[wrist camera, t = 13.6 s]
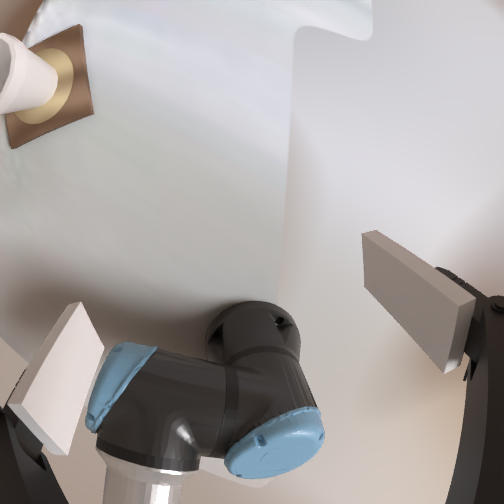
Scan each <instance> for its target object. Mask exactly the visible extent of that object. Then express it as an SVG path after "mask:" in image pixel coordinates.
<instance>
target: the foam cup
mask: <svg viewBox="0 0 504 504" xmlns="http://www.w3.org/2000/svg"><path fill="white" fill-rule="evenodd" d="M57 82H58V75H57V73H56V70H55V68H53V67H52V66H51V65H49V64H48V63H47V62H45V61H44V60H43V59H41V58H40V57H39V56H37V55H36V54H34V53H33V52H32V51H30V50H29V49H27V48H26V47H25V46H24V44H23V43H22V42H21V41H19V40H18V39H16V38H15V37H13V36H11V35H8V34H5V33H0V115H2V114H6V113H11V112H16V111H21V110H27V109H32V108H36V107H40V106H42V105H44V104H46V103H47V102H48V101H49V100H50V99H51V97H52V96H53V94H54V92H55V90H56V88H57Z"/></svg>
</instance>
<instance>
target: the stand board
mask: <svg viewBox="0 0 504 504" xmlns="http://www.w3.org/2000/svg"><path fill="white" fill-rule="evenodd" d="M29 50H30V51H32V52H33V53H34V54H36V55H37V56H39V57H40V58H41V59H43V60H44V61H45V62H47V63H48V64H49V65H51V66H52V67H53V68H55V70H56V73H57V75H58V82H57V88H56V90H55V92H54V94H53V96H52V97H51V99H50V100H49V101H48V102H47V103H46V104H44V105H42V106H40V107H36V108H32V109H27V110H21V111H16V112H11V113H6V120H7V127H8V133H9V139H10V145H11V149H15V148H17V147H19V146H21V145H23V144H25V143H27V142H29V141H31V140H33V139H36V138H38V137H40V136H42V135H44V134H46V133H49V132H51V131H53V130H55V129H58V128H60V127H62V126H65V125H67V124H69V123H72V122H74V121H77V120H79V119H82V118H85V117H87V116H90V115H93V114H94V111H93V105H92V99H91V93H90V87H89V81H88V74H87V66H86V58H85V49H84V40H83V29H82V26H81V25H80V24H78V25H76V26H73V27H71V28H69V29H67V30H65V31H62V32H60V33H58V34H56V35H54V36H52V37H50V38H48V39H46V40H44V41H42V42H40V43H38V44H37V45H35V46H33V47H31V48H29Z"/></svg>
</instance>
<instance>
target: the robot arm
mask: <svg viewBox="0 0 504 504" xmlns="http://www.w3.org/2000/svg"><path fill="white" fill-rule="evenodd" d="M362 247H363V263H364V286H365V288H366V289H367V290H368V291H369V292H370V293H371V294H372V295H373V296H374V297H375V298H376V299H377V301H378V302H379V303H380V304H381V305H382V306H383V307H384V308H385V309H386V310H387V311H388V312H389V313H390V314H391V315H392V316H393V317H394V319H395V320H396V321H397V322H398V323H399V324H400V325H401V326H402V327H403V328H404V330H406V332H407V333H408V334H409V335H410V336H411V337H412V338H413V339H414V341H415V342H416V343H417V344H418V345H419V346H420V347H421V348H422V349H423V351H424V352H425V353H426V354H427V355H428V356H429V357H430V358H431V360H432V361H433V362H434V363H435V364H436V365H437V366H438V368H439V369H440V370H441V371H442V372H443V374H445V373H447V372H449V371H450V370H452V369H454V368H456V367H458V366H460V364H461V361H462V357H463V354H464V352H465V353H466V354H467V355H468V356H469V357H470V360H469V363H468V367H467V370H466V373H465V376H464V379H463V381H466V379H467V389H466V400H465V409H464V417H463V425H462V432H461V438H460V444H459V449H458V454H457V460H456V464H455V469H454V474H453V477H452V481H451V485H450V489H449V493H448V496H447V500H446V503H445V504H504V296H492V297H489V298H488V297H486V296H485V295H483V294H482V293H481V292H479V291H478V290H477V289H475V288H474V287H472V286H471V285H469V284H468V283H465V281H464V280H462V279H461V278H458V276H456V275H455V274H453V273H452V272H450V271H449V270H446V269H443V268H440V267H436V268H434V267H432V266H431V265H429V264H428V263H426V262H425V261H423V260H422V259H420V258H419V257H417V256H416V255H414V254H413V253H411V252H410V251H408V250H407V249H405V248H404V247H402V246H400V245H399V244H397V243H396V242H394V241H393V240H391V239H390V238H388V237H386V236H385V235H383V234H381V233H380V232H378V231H377V230H374V231H370V232H366V233H363V234H362ZM300 344H301V341H300V334H299V331H298V328H297V326H296V324H295V322H294V320H293V318H292V317H291V316H290V315H289V313H287V312H286V311H285V310H283V309H282V308H280V307H278V306H276V305H273V304H270V303H266V302H246V303H242V304H238V305H235V306H233V307H230V308H228V309H227V310H225V311H223V312H222V313H221V314H219V315H218V316H217V317H216V318H215V319H214V320H213V322H212V323H211V325H210V326H209V328H208V330H207V333H206V338H205V350H206V356H207V359H208V361H206V360H202V359H197V358H193V357H189V356H185V355H181V354H177V353H173V352H169V351H165V350H162V349H159V347H157V346H153V347H151V346H146V345H142V344H137V343H133V342H121V343H119V344H117V345H116V346H115V347H114V348H113V349H112V350H111V351H110V353H109V355H108V356H107V358H106V360H105V362H104V364H103V366H102V368H101V370H100V372H99V375H98V377H97V380H96V382H95V385H94V388H93V390H92V394H91V397H90V400H89V404H88V411H87V415H86V419H85V424H86V427H87V428H88V429H89V430H90V431H91V432H92V433H97V434H98V437H97V442H96V450H97V451H98V453H99V454H100V456H101V457H102V458H103V460H104V461H105V463H106V465H107V469H106V476H105V484H104V494H103V504H180V499H181V491H182V484H183V482H184V481H185V480H186V479H188V478H190V477H191V476H193V475H194V474H196V473H197V472H198V470H199V463H200V458H201V456H205V457H214V458H221V459H224V464H225V466H226V467H227V469H228V471H229V472H230V473H231V474H233V475H236V476H237V477H240V478H245V479H261V478H268V477H273V476H277V475H280V474H283V473H286V472H289V471H291V470H293V469H295V468H297V467H299V466H301V465H302V464H304V463H305V462H307V461H308V460H310V459H311V458H312V457H313V456H314V455H315V454H316V453H317V452H318V451H319V449H320V448H321V446H322V444H323V442H324V438H325V432H324V428H323V425H322V421H321V418H320V417H321V413H320V411H319V410H318V407H317V405H316V403H315V400H314V398H313V395H312V393H311V391H310V388H309V386H308V384H307V381H306V379H305V376H304V374H303V371H302V369H301V367H300V364H299V357H300ZM103 351H104V346H103V344H102V342H101V340H100V339H99V337H98V335H97V333H96V331H95V329H94V327H93V325H92V323H91V321H90V319H89V317H88V315H87V313H86V311H85V309H84V306H83V304H82V302H81V301H80V302H76V303H71V304H68V306H67V307H66V308H65V310H64V311H63V313H62V314H61V316H60V317H59V319H58V320H57V322H56V323H55V325H54V326H53V328H52V329H51V331H50V332H49V334H48V335H47V337H46V338H45V340H44V341H43V343H42V344H41V346H40V348H39V349H38V351H37V352H36V354H35V356H34V357H33V359H32V361H31V362H30V364H29V366H28V367H27V368H26V369H25V370H24V372H23V374H22V375H21V377H20V379H19V380H20V381H18V382H17V384H16V388H14V389H13V391H12V393H11V395H10V397H9V398H8V400H7V402H6V404H5V406H4V408H3V409H2V408H1V406H0V504H69V503H68V501H67V499H66V498H65V496H64V494H63V492H62V490H61V488H60V486H59V484H58V482H57V480H56V478H55V475H54V473H53V471H52V469H51V467H50V464H49V462H48V460H47V458H46V456H45V455H44V454H43V453H42V452H41V450H42V447H43V445H44V446H45V447H46V448H47V449H48V450H49V451H50V452H51V453H52V454H55V455H68V453H69V449H70V446H71V442H72V439H73V436H74V432H75V429H76V426H77V423H78V420H79V417H80V414H81V411H82V408H83V405H84V402H85V399H86V396H87V393H88V391H89V388H90V385H91V382H92V379H93V377H94V374H95V371H96V369H97V366H98V364H99V361H100V358H101V356H102V353H103Z"/></svg>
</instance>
